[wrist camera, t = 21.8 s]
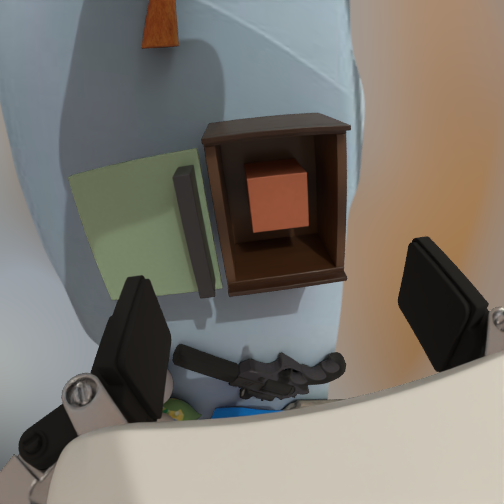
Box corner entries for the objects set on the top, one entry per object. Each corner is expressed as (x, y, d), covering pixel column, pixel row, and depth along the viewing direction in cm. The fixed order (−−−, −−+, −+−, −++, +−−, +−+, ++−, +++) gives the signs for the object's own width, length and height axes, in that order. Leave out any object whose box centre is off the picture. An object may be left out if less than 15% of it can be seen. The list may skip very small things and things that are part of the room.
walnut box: (208, 123, 28) (201, 138, 20) (318, 112, 28) (350, 125, 20) (228, 247, 35) (228, 297, 27) (322, 235, 35) (347, 280, 27)
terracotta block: (243, 163, 29) (246, 179, 25) (295, 158, 30) (307, 172, 25) (249, 210, 32) (253, 233, 28) (297, 205, 32) (309, 226, 28)
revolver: (352, 352, 46) (295, 402, 52) (208, 296, 38) (165, 363, 44) (357, 366, 43) (298, 416, 49) (207, 312, 36) (162, 379, 42)
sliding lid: (70, 175, 21) (53, 187, 19) (197, 147, 22) (193, 157, 19) (113, 296, 28) (104, 317, 25) (222, 284, 28) (222, 306, 25)
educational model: (101, 381, 48) (158, 403, 58) (93, 423, 43) (153, 439, 53) (152, 383, 42) (211, 405, 52) (144, 435, 37) (207, 447, 47)
